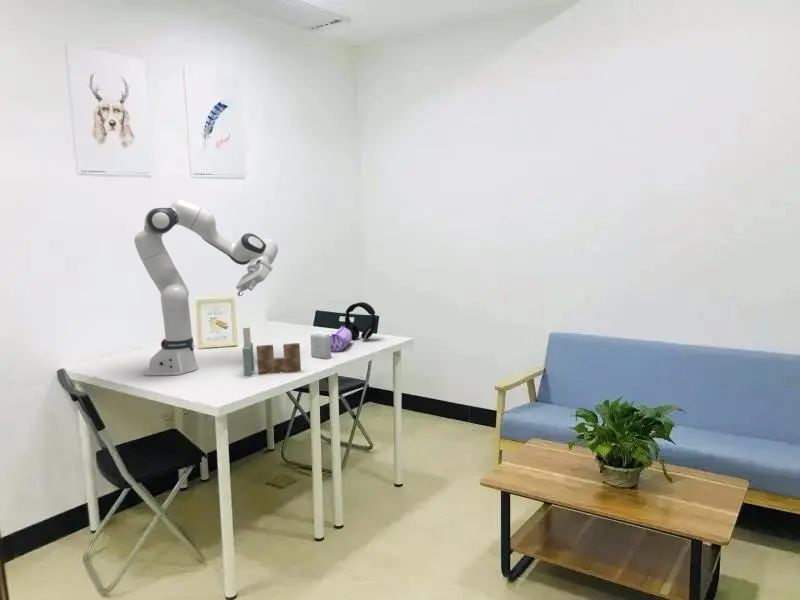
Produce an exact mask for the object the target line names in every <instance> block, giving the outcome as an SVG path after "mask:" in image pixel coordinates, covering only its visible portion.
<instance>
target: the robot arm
mask: <svg viewBox="0 0 800 600" xmlns="http://www.w3.org/2000/svg"><path fill="white" fill-rule="evenodd" d="M175 225H176V226H177V225H179V226H182V227H184V228H186V229H188V230H189V231H192V232H193V233H195V234H197V235H198V236H199V237H200V238H201V239H202V240H203V241H204V242H206V243H208V244H209V245H210V246H213V247H214V248H215V249H217V250H218V251H220V252H222V253H223V254H225V255H226V256H228V257H229V259H231V260H232V261H233V262H234V263H235V264H237V265H241V266H243V265H245V266H246V265H248V266H247V267H246V270H247V273H245V274H244V275H242V276H241V278H240V279H239V281H238V282H237V284H236V286H235V288H236V290H238V292H237V296H238V297H241V296H243V294H244V292H245V291H247V290H249V291H251V292H252V291H253V290H254V289H255V287H256V286H257V285H258V284H259V283H261V282H263V281H265V280H266V278H267V276H269V274H270V272H271V271H272V270H273V268H274V267H273V266H272V264H273V263H274V261H275V259H276V257H277V254H278V252H279V247H278V244H277V243H276V241H274V240H273V239H270V238H262V237H259V236H257V235H255V234H254V233H251V232H250V233H249V232H248V233H245V234H243V235H242V236H241V237H240V238H239V240H238V241H237V243H236V242H232V241H231V240H229V239H228V238H226V237H224V236H222V234H220V233H219V231H217V226H216V225H217V224H216V219H215V217H214V214H213V213H211V212H210V211H209V210H207V209H205V208H204V207H201V206H200V205H197V204H195V203H193V202H190V201H188V200H184V199H176V200H175V201H173V202H172V204H171V205H170V206H169V207H155V208H152V209H150V210H149V211H148V212H147V213H146V215H145V218H144V227H143V228H144V229H143V230H142V231H140V232H138V233H137V234H136V235H135V237H134V240H133V242H134V245H135V248H136V251H137V253H138V256H139V258H140V260H141V262H142V264H143V266H144V268H145V269H146V271H147V273H148V275H149V277H150V278H151V280H152V281H153V284H154V285H155V286H156V288H157V289H158V291H159V293H160V302H161V303H160V304H161V312H162V317H163V326H164V335H165V336H164V337H165V338H163V339H162V340H161V342H160V346H161V348H160V349H159V350H158V351H157V352H156V353H154V355H153V356H152V357H151V358H150V360H149V363H148V364H149V365H148V367H147V368H145V370H144V371H143V375H144V374H145V375H144V376H180V375H183V374H185V373H189V372H193V371H196V370H198V369H199V365H198V363H197V360H196V357H195V351H194V349H195V344H194V343H195V342H194V337H193V336H192V335H193V334H192V333H193V332H192V322H191V321H192V320H191V315H190V314H191V313H190V304H189V303H190V302H189V295H190V294H189V292H190V291H189V289H188V287H187V285H186V283H185V282H184V280H183V278H182V276H181V274H180V272H179V271H178V269H177V268H176V266H175V264H174V262H173V260H172V258H171V256H170V254H169V251H168V250H167V249H166V247H165V245H164V242H163V239H162V238H163V235H165V234H167V233H168V232H169V231H170V230H172V228H173V227H174V226H175Z"/></svg>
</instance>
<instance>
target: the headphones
mask: <svg viewBox="0 0 800 600" xmlns="http://www.w3.org/2000/svg"><path fill="white" fill-rule="evenodd" d="M356 308H362V309H364V310H365V311H366V312H367V313H368V315H370V316H371V317H372V320H371V323H370V325H366V327H365V328H364V329H363V330H362V332H361V335H360V330H359V327H358V326H357V325H356V324H354V323H353V324H351V319H350V313H353V311H354V310H355V309H356ZM344 313H345V314H346V315H345V317H344V326H345V328H347V329H349V330H350V331H351V333H352V339H351V340H353V341H355V340H357V339H359V336H360V337H361V338H362V339H363V341H367V340H369V339H370V338H371V337H372V335H373V334H374V331H375V329H376V327H377V319H376V315H375V314H376V311H375V309H374V308H373V306H371V304H369V303H367V302H365V301H363V302H362V301H361V302H357V303H353V304H351V305H349V306H348V307H347V308H346V310H345V312H344Z"/></svg>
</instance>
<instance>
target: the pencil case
mask: <svg viewBox="0 0 800 600" xmlns="http://www.w3.org/2000/svg"><path fill="white" fill-rule="evenodd" d="M352 340H353V339H352V333H351V331H350V330H349V329H347V327H346V325H342V326H340V328H338V329H337V330H336V332H335V333H331V335H330V343H331V352H335V353H339V352H341V351H342V350H343V349H345V348H346V347H347V346H348V345H349V344H350V343H351V342H352Z"/></svg>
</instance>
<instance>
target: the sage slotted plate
mask: <svg viewBox="0 0 800 600" xmlns="http://www.w3.org/2000/svg"><path fill="white" fill-rule="evenodd" d="M250 327H251V326H243V328H242V337H243V346H242V364H243V374H244V376H249V377H252V376H253V373H254V371H255V360H254V359H255V357H254V345H253V342H251V341H252V340H251V338H252V337H251V329H250ZM252 371H253V372H252Z"/></svg>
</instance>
